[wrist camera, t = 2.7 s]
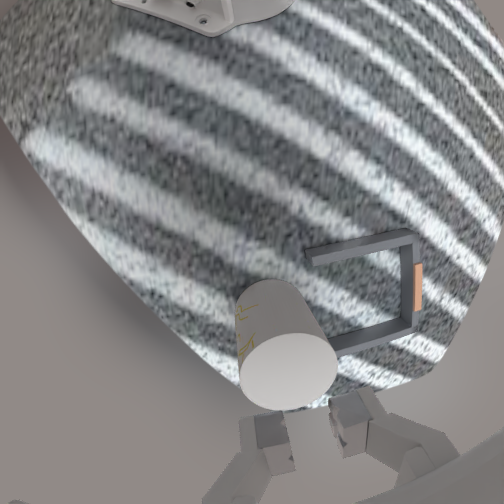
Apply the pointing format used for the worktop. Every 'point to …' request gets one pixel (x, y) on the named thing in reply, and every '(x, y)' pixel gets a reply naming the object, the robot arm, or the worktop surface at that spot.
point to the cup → (281, 347)
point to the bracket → (409, 286)
